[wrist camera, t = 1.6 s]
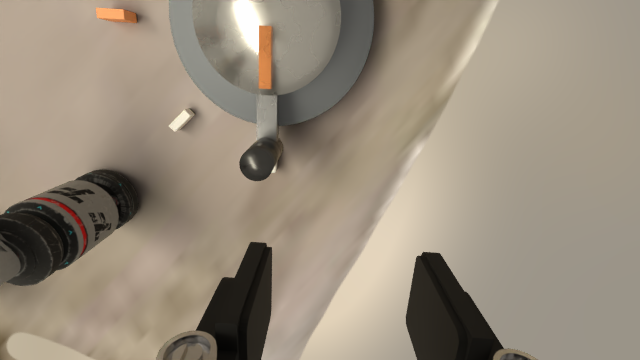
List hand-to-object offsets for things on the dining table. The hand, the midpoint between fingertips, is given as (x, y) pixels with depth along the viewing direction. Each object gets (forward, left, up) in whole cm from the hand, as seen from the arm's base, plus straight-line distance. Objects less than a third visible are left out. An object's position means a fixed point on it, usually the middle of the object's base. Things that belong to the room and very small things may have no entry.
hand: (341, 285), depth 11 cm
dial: (-8, -6, -21) cm, 23 cm away
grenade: (+7, -24, -24) cm, 34 cm away
